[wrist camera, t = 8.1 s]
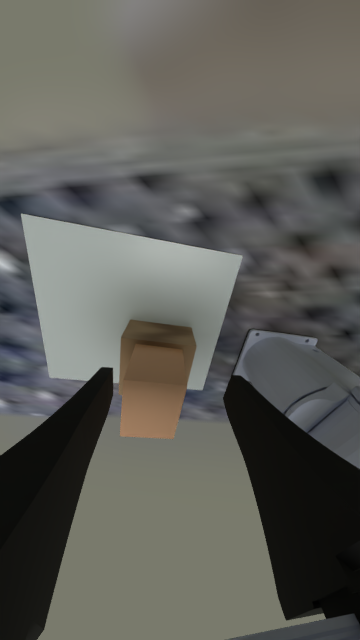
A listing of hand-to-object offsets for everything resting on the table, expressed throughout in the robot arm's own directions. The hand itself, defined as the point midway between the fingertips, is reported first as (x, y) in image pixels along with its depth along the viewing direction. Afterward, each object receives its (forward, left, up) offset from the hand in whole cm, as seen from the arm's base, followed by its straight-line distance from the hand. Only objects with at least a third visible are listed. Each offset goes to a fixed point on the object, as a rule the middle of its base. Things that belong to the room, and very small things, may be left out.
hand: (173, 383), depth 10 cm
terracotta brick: (+1, +4, -6) cm, 7 cm away
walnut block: (+1, +4, -10) cm, 11 cm away
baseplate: (+4, +1, -10) cm, 11 cm away
